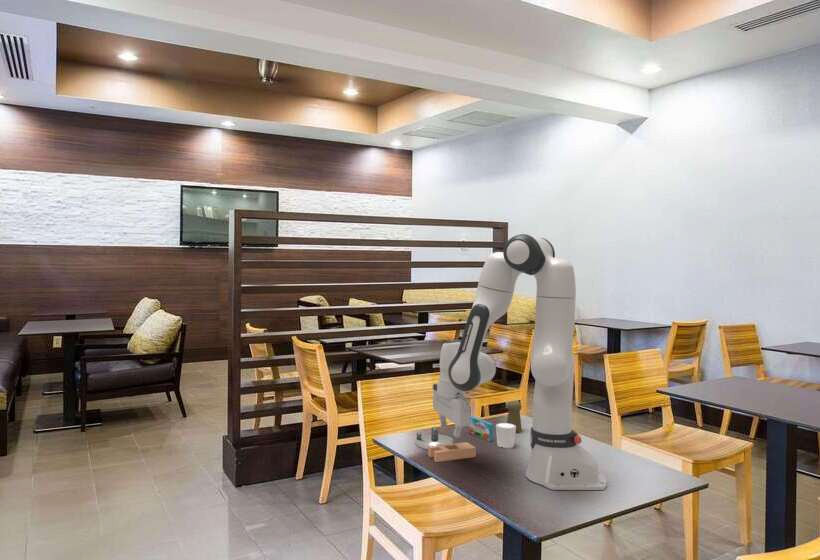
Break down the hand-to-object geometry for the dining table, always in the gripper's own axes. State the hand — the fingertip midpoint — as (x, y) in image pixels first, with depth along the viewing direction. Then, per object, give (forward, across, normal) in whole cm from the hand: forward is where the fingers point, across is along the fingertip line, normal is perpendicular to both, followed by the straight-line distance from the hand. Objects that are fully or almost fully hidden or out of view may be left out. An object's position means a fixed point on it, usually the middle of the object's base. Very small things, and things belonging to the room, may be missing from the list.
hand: (449, 432), depth 180 cm
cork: (+8, +16, -35) cm, 40 cm away
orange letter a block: (+8, -1, -1) cm, 8 cm away
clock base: (+8, +12, -1) cm, 15 cm away
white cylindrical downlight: (+8, +3, -23) cm, 24 cm away
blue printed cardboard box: (+8, +14, -20) cm, 26 cm away
